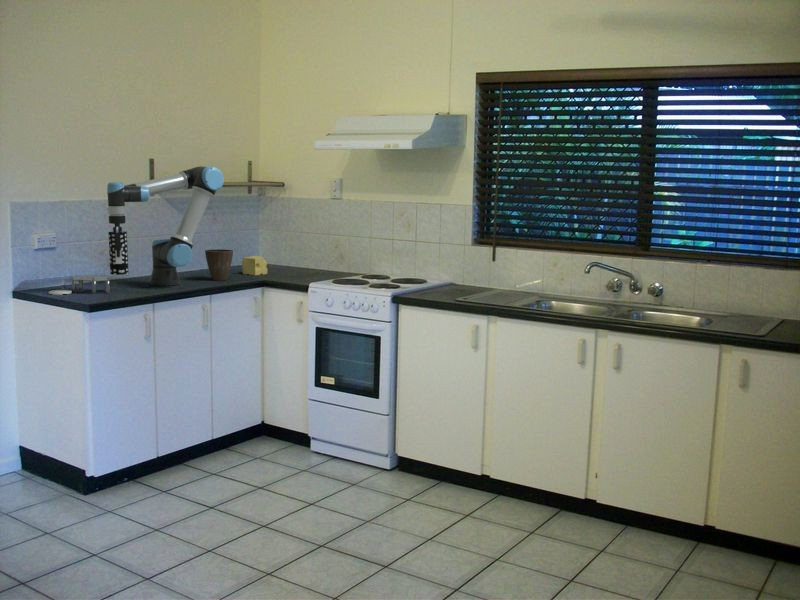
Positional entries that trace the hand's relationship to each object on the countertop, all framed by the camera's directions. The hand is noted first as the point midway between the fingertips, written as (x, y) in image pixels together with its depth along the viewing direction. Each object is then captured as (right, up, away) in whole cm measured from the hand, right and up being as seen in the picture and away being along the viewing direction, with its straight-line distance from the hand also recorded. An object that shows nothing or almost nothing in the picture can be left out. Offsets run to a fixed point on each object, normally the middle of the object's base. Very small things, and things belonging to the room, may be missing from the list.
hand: (119, 262), depth 399 cm
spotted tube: (0, -5, +1) cm, 6 cm away
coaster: (-25, -15, -9) cm, 30 cm away
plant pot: (+37, -7, +53) cm, 65 cm away
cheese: (+51, -3, +81) cm, 96 cm away
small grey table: (-12, -15, -5) cm, 20 cm away
